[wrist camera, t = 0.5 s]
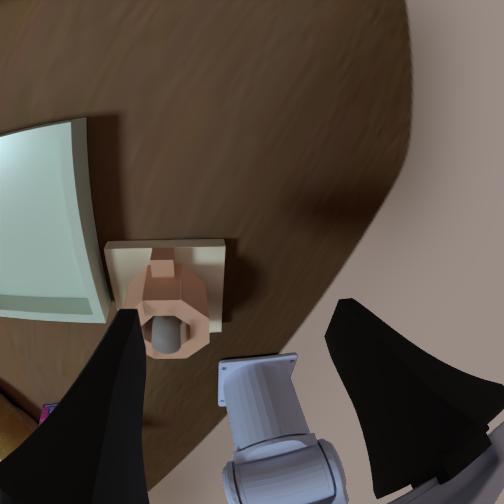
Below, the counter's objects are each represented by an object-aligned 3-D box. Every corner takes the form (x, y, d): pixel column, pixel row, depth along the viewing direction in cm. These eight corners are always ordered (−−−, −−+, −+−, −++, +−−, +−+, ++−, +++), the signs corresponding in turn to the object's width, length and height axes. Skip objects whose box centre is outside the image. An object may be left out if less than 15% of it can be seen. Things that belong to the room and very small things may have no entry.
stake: (219, 323, 23) (229, 377, 19) (125, 325, 21) (118, 379, 17) (223, 238, 19) (236, 291, 14) (107, 241, 17) (85, 294, 13)
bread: (-18, 358, 21) (-38, 420, 12) (90, 456, 40) (89, 496, 31) (-71, 348, 18) (-88, 393, 9) (29, 445, 36) (26, 479, 28)
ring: (205, 321, 21) (209, 357, 18) (136, 323, 20) (132, 358, 17) (205, 246, 18) (210, 280, 15) (122, 248, 17) (111, 282, 14)
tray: (111, 301, 20) (105, 323, 18) (-11, 296, 17) (-21, 313, 15) (86, 117, 13) (70, 122, 11) (-52, 152, 10) (-70, 162, 8)
